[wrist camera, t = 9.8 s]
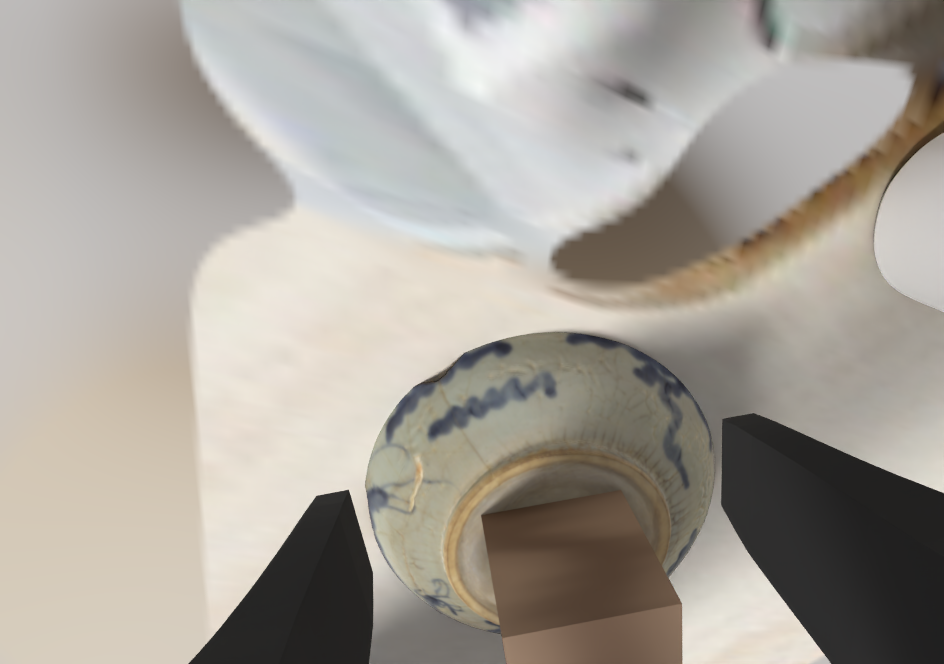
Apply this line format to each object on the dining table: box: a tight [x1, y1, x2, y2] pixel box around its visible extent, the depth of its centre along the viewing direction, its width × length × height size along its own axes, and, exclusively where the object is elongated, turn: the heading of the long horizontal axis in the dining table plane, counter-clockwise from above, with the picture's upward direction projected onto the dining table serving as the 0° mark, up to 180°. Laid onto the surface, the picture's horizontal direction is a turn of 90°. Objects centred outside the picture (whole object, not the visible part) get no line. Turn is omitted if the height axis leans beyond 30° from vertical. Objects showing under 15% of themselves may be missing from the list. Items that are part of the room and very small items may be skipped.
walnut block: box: [481, 490, 682, 664], centre depth 19 cm, size 5×5×5 cm
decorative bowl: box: [365, 332, 714, 634], centre depth 23 cm, size 15×4×15 cm
